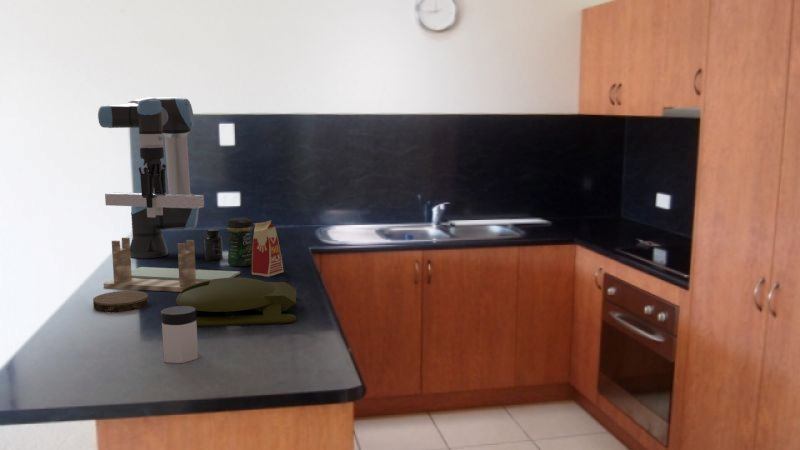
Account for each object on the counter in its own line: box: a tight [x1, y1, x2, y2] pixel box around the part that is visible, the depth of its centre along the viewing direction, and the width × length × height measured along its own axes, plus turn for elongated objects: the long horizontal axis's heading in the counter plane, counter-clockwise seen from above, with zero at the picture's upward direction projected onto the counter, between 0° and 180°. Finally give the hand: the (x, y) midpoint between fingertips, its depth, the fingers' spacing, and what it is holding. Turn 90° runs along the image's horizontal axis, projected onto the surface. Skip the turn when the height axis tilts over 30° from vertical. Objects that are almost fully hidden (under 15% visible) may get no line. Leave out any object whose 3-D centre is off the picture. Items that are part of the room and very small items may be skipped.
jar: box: [160, 305, 199, 364], centre depth 178 cm, size 9×8×12 cm
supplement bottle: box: [204, 228, 224, 262], centre depth 296 cm, size 7×7×12 cm
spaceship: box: [175, 277, 297, 328], centre depth 220 cm, size 35×31×10 cm
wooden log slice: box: [92, 290, 150, 313], centre depth 226 cm, size 16×16×3 cm
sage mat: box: [131, 266, 241, 282], centre depth 267 cm, size 40×14×1 cm, turn 79°
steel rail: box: [104, 191, 205, 210], centre depth 248 cm, size 34×4×4 cm, turn 79°
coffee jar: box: [226, 216, 254, 267], centre depth 285 cm, size 10×8×19 cm
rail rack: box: [103, 237, 201, 293], centre depth 249 cm, size 33×9×16 cm, turn 79°
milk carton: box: [251, 220, 284, 278], centre depth 270 cm, size 9×9×20 cm
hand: (155, 215), depth 249 cm, fingers closed on steel rail, 4 cm apart
